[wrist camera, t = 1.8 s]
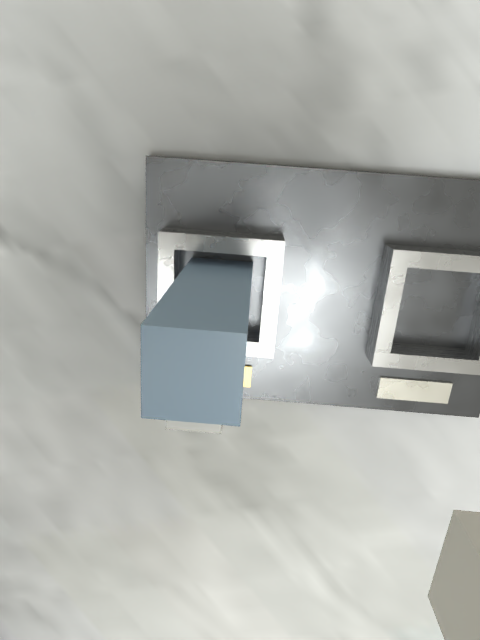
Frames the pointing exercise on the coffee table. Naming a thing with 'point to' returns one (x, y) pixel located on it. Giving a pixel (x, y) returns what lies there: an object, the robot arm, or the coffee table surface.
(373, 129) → the coffee table surface
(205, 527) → the coffee table surface
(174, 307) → the plug
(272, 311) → the panel
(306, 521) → the coffee table surface
